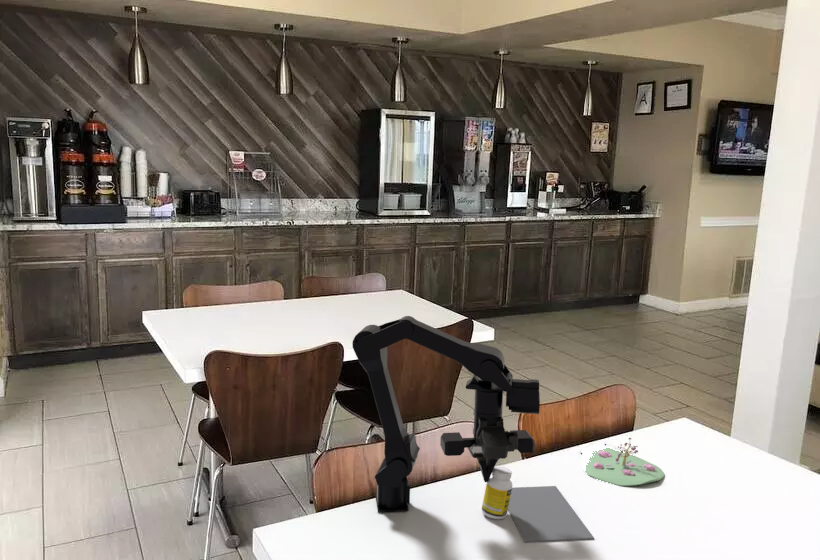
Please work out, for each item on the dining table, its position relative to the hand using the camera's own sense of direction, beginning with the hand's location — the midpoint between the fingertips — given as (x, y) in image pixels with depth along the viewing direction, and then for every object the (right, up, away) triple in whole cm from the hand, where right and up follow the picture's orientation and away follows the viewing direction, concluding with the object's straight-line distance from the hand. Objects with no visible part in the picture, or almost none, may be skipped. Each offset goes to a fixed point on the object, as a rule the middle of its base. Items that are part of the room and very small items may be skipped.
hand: (485, 481), depth 138 cm
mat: (+12, -8, +3) cm, 15 cm away
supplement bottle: (+2, -7, +2) cm, 8 cm away
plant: (+36, -5, +28) cm, 46 cm away
